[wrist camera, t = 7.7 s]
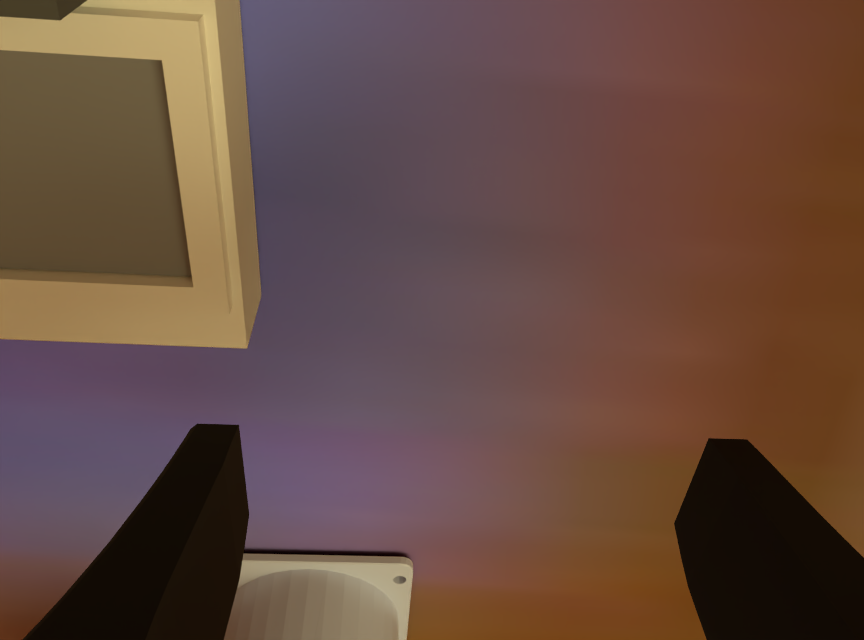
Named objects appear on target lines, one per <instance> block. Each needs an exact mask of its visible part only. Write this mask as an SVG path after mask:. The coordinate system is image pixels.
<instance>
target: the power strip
mask: <svg viewBox="0 0 864 640" xmlns="http://www.w3.org/2000/svg"><path fill="white" fill-rule="evenodd" d="M260 299H261V283H260V270H259V256H258V243H257V229H256V216H255V202H254V189H253V176H252V162H251V149H250V135H249V122H248V108H247V95H246V81H245V68H244V54H243V41H242V28H241V14H240V1H239V0H87V1H86V2H84V3H83V4H82V5H80V6H79V7H78V8H76V9H75V10H74V11H72V12H71V13H70V14H68V15H67V16H66V17H64V18H63V19H62V20H45V19H30V18H15V17H0V339H14V340H40V341H66V342H92V343H118V344H145V345H171V346H197V347H223V348H247V347H248V343H249V340H250V336H251V332H252V328H253V325H254V321H255V317H256V314H257V310H258V306H259V302H260Z"/></svg>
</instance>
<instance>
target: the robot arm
mask: <svg viewBox="0 0 864 640" xmlns="http://www.w3.org/2000/svg"><path fill="white" fill-rule="evenodd" d="M248 519H249V509H248V501H247V492H246V483H245V475H244V466H243V457H242V449H241V440H240V431H239V425H223V424H197V425H195V426H194V427H193V428H191V429H190V431H189V432H188V434H187V436H186V437H185V439H184V440H183V442H182V443H181V445H180V446H179V448H178V449H177V451H176V452H175V454H174V455H173V457H172V458H171V460H170V461H169V463H168V464H167V466H166V467H165V468H164V470H163V471H162V473H161V474H160V476H159V477H158V478H157V480H156V481H155V483H154V484H153V485H152V487H151V488H150V489H149V491H148V492H147V494H146V495H145V496H144V498H143V499H142V500H141V502H140V503H139V504H138V506H137V507H136V508H135V509H134V511H133V512H132V513H131V515H130V516H129V517H128V518H127V520H126V521H125V522H124V524H123V525H122V526H121V528H120V529H119V530H118V531H117V533H116V534H115V535H114V537H113V538H112V539H111V540H110V542H109V543H108V544H107V545H106V547H105V548H104V549H103V550H102V551H101V553H100V554H99V555H98V556H97V557H96V558H95V560H94V561H93V562H92V563H91V564H90V565H89V567H88V568H87V569H86V570H85V571H84V572H83V574H82V575H81V576H80V577H79V578H78V579H77V581H76V582H75V583H74V584H73V585H72V586H71V588H70V589H69V590H68V591H67V592H66V593H65V595H64V596H63V597H62V598H61V599H60V600H59V601H58V602H57V604H56V605H55V606H54V607H53V608H52V609H51V610H50V611H49V612H48V613H47V614H46V615H45V617H44V618H43V619H42V620H41V621H40V622H39V623H38V624H37V625H36V626H35V627H34V628H33V629H32V630H31V631H30V632H29V634H28V635H27V636H26V637H25V638H24V639H23V640H407V629H408V619H409V609H410V598H411V588H412V577H413V563H412V561H411V560H410V559H408V558H406V557H398V556H348V555H299V554H249V553H244V547H245V540H246V533H247V526H248ZM674 525H675V530H676V534H677V539H678V544H679V549H680V554H681V559H682V563H683V567H684V571H685V575H686V580H687V584H688V587H689V590H690V593H691V596H692V599H693V602H694V605H695V608H696V611H697V613H698V616H699V619H700V622H701V625H702V627H703V630H704V633H705V636H706V639H707V640H864V558H863V557H862V556H861V555H860V554H859V553H858V552H857V551H856V550H855V549H854V548H853V547H852V546H851V545H850V544H849V543H848V542H847V541H846V540H845V539H844V538H843V537H842V536H841V535H840V534H839V533H838V532H837V531H836V530H835V529H834V528H833V527H832V526H831V525H830V524H829V523H828V522H827V521H826V520H825V519H824V518H823V517H822V516H821V515H820V514H819V513H818V512H817V511H816V510H815V509H814V508H813V507H812V506H811V505H810V504H809V503H808V502H807V500H806V499H805V498H804V497H803V496H802V495H801V494H800V493H799V492H798V491H797V490H796V489H795V488H794V487H793V486H792V485H791V484H790V483H789V482H788V481H787V480H786V479H785V478H784V477H783V476H782V475H781V474H780V473H779V471H778V470H777V469H776V468H775V467H774V466H773V465H772V464H771V463H770V462H769V461H768V460H767V459H766V458H765V457H764V456H763V455H762V454H761V453H760V452H759V451H758V450H757V449H756V448H755V447H754V446H753V445H752V444H751V443H750V442H749V441H748V440H744V439H710V438H709V439H708V441H707V444H706V446H705V449H704V451H703V454H702V456H701V459H700V461H699V464H698V466H697V469H696V471H695V474H694V476H693V478H692V481H691V483H690V486H689V488H688V491H687V493H686V496H685V498H684V501H683V503H682V506H681V508H680V511H679V513H678V516H677V518H676V520H675V523H674Z"/></svg>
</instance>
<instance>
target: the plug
mask: <svg viewBox="0 0 864 640" xmlns="http://www.w3.org/2000/svg"><path fill="white" fill-rule="evenodd" d="M86 1H87V0H0V17H15V18H30V19H45V20H62V19H63V18H64V17H66V16H67V15H68V14H70V13H71V12H72V11H74V10H75V9H76V8H78V7H79V6H80V5H82V4H83V3H84V2H86Z"/></svg>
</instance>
